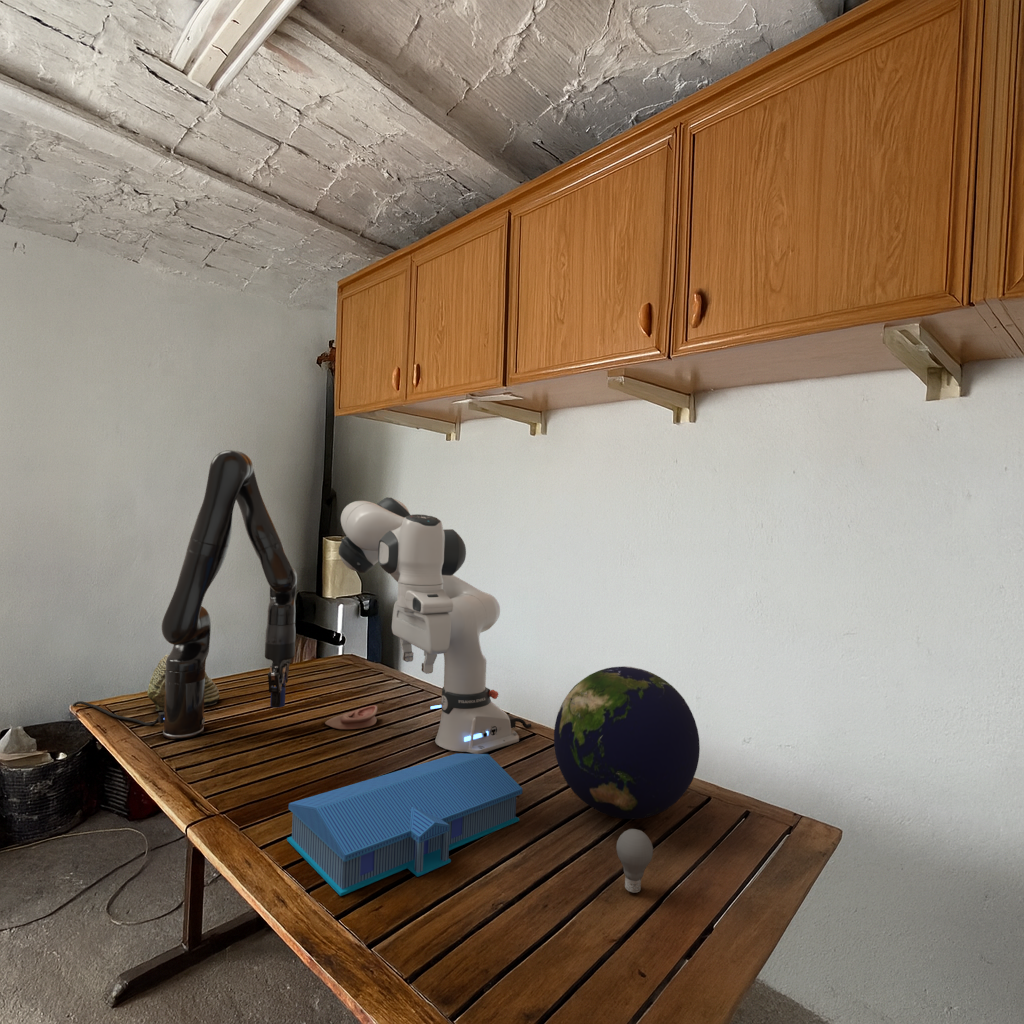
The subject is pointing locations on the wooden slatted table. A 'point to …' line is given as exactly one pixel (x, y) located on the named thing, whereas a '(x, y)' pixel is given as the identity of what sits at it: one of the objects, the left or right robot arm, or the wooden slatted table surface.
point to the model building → (402, 819)
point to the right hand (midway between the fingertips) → (417, 666)
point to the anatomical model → (354, 719)
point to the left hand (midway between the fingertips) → (277, 703)
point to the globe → (626, 742)
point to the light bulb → (634, 857)
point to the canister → (281, 697)
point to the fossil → (158, 687)
